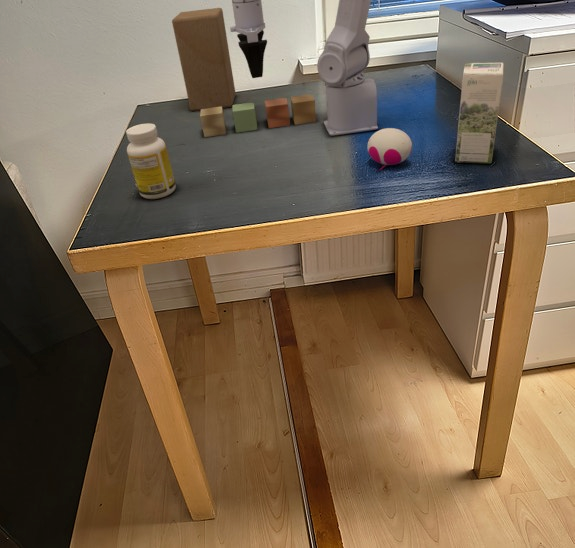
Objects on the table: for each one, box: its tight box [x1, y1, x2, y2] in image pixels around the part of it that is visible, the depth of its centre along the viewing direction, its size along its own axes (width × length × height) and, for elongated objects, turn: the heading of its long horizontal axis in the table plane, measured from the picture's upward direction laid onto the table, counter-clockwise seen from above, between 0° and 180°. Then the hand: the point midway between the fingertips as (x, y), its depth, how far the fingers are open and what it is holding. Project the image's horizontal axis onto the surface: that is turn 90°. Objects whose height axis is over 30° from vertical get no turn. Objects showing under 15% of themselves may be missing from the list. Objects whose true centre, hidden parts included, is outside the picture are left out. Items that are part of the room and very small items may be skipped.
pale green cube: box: [231, 102, 258, 134], centre depth 108 cm, size 4×4×4 cm
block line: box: [199, 93, 317, 138], centre depth 108 cm, size 24×4×4 cm, turn 96°
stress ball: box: [366, 127, 413, 171], centre depth 86 cm, size 8×8×7 cm
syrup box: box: [454, 62, 505, 165], centre depth 82 cm, size 6×6×14 cm
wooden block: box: [171, 7, 236, 112], centre depth 121 cm, size 10×10×20 cm
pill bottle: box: [125, 122, 177, 200], centre depth 85 cm, size 6×6×11 cm
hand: (256, 72), depth 109 cm, fingers open, 7 cm apart
